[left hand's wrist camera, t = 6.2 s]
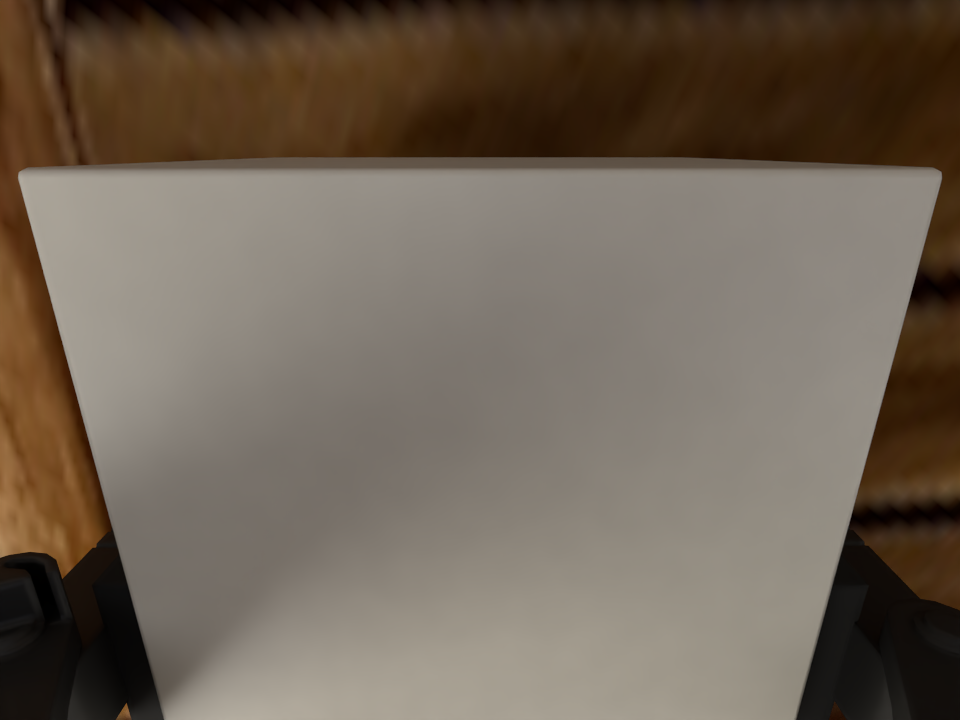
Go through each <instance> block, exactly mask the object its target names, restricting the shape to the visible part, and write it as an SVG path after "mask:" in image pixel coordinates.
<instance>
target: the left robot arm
mask: <svg viewBox="0 0 960 720" xmlns="http://www.w3.org/2000/svg"><path fill="white" fill-rule="evenodd" d="M834 701H835V702H836V704H837V705H838V707H839V708H840V710H841V711H842V713H843V715H844V716H845V718H846V719H847V720H960V611H959V610H957V609H955V608H952V607H949V606H946V605H944V604H941V603H938V602H935V601H929V600H923V599H920V598H919V597H918V596H917V595H916V594H915V593H914V592H913V591H912V590H911V589H910V588H909V587H908V586H907V585H906V584H905V583H904V582H903V581H902V580H901V579H900V578H899V577H898V576H897V575H896V574H895V573H894V572H893V571H892V570H891V569H890V568H889V567H888V566H887V565H886V564H885V563H884V562H883V561H882V559H881V558H880V557H879V556H878V555H877V554H876V553H875V552H874V551H873V550H872V549H871V548H870V547H869V546H865V545H864V541H863V540H862V539H861V538H860V537H859V536H858V535H857V534H856V533H855V532H854V531H853V530H850V529H849V526H848V529H847V533H846V537H845V540H844V544H843V548H842V552H841V555H840V559H839V563H838V566H837V570H836V574H835V578H834V581H833V585H832V589H831V592H830V596H829V600H828V604H827V607H826V611H825V615H824V618H823V622H822V626H821V630H820V633H819V637H818V641H817V644H816V648H815V652H814V656H813V659H812V663H811V667H810V670H809V674H808V678H807V682H806V685H805V689H804V693H803V696H802V700H801V704H800V708H799V711H798V715H797V719H796V720H829V717H830V714H831V710H832V707H833V704H834ZM126 703H127V705H128V709H129V712H130V715H131V719H132V720H164V717H163V713H162V710H161V706H160V702H159V699H158V695H157V691H156V687H155V684H154V680H153V676H152V673H151V669H150V665H149V661H148V658H147V654H146V650H145V647H144V643H143V639H142V635H141V632H140V628H139V624H138V621H137V617H136V613H135V609H134V606H133V602H132V598H131V595H130V591H129V587H128V583H127V580H126V576H125V572H124V569H123V565H122V561H121V557H120V554H119V550H118V546H117V543H116V539H115V535H114V531H113V528H112V531H111V532H108V533H107V534H106V535H105V536H104V537H103V538H102V539H101V540H100V541H99V542H98V543H97V547H96V548H92V549H91V550H90V551H89V552H88V553H87V554H86V555H85V556H84V557H83V558H82V560H81V561H80V562H79V563H78V564H77V565H76V566H75V567H74V568H73V569H72V570H71V571H70V572H69V573H68V574H67V575H66V576H65V577H64V578H63V579H62V577H61V574H60V571H59V567H58V564H57V561H56V559H54V558H52V557H51V556H49V555H48V554H45V553H35V552H27V553H20V554H13V555H8V556H5V557H2V558H0V720H116V718H117V717H118V715H119V714H120V712H121V710H122V709H123V707H124V706H125V704H126Z"/></svg>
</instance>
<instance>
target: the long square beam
mask: <svg viewBox="0 0 960 720" xmlns="http://www.w3.org/2000/svg"><path fill="white" fill-rule="evenodd" d="M18 179H19V183H20V186H21V190H22V194H23V197H24V201H25V205H26V209H27V212H28V216H29V220H30V223H31V227H32V231H33V235H34V238H35V242H36V246H37V249H38V253H39V257H40V261H41V264H42V268H43V272H44V275H45V279H46V283H47V287H48V290H49V294H50V298H51V301H52V305H53V309H54V313H55V316H56V320H57V324H58V327H59V331H60V335H61V339H62V342H63V346H64V350H65V353H66V357H67V361H68V364H69V368H70V372H71V376H72V379H73V383H74V387H75V390H76V394H77V398H78V402H79V405H80V409H81V413H82V416H83V420H84V424H85V428H86V431H87V435H88V439H89V442H90V446H91V450H92V454H93V457H94V461H95V465H96V468H97V472H98V476H99V480H100V483H101V487H102V491H103V494H104V498H105V502H106V506H107V509H108V513H109V517H110V520H111V524H112V528H113V531H114V535H115V539H116V543H117V546H118V550H119V554H120V557H121V561H122V565H123V569H124V572H125V576H126V580H127V583H128V587H129V591H130V595H131V598H132V602H133V606H134V609H135V613H136V617H137V621H138V624H139V628H140V632H141V635H142V639H143V643H144V647H145V650H146V654H147V658H148V661H149V665H150V669H151V673H152V676H153V680H154V684H155V687H156V691H157V695H158V699H159V702H160V706H161V710H162V713H163V717H164V720H796V719H797V715H798V711H799V708H800V704H801V700H802V696H803V693H804V689H805V685H806V682H807V678H808V674H809V670H810V667H811V663H812V659H813V656H814V652H815V648H816V644H817V641H818V637H819V633H820V630H821V626H822V622H823V618H824V615H825V611H826V607H827V604H828V600H829V596H830V592H831V589H832V585H833V581H834V578H835V574H836V570H837V566H838V563H839V559H840V555H841V552H842V548H843V544H844V540H845V537H846V533H847V529H848V526H849V522H850V518H851V514H852V511H853V507H854V503H855V500H856V496H857V492H858V488H859V485H860V481H861V477H862V474H863V470H864V466H865V462H866V459H867V455H868V451H869V448H870V444H871V440H872V436H873V433H874V429H875V425H876V422H877V418H878V414H879V410H880V407H881V403H882V399H883V396H884V392H885V388H886V384H887V381H888V377H889V373H890V370H891V366H892V362H893V358H894V355H895V351H896V347H897V344H898V340H899V336H900V332H901V329H902V325H903V321H904V318H905V314H906V310H907V306H908V303H909V299H910V295H911V292H912V288H913V284H914V280H915V277H916V273H917V269H918V266H919V262H920V258H921V254H922V251H923V247H924V243H925V240H926V236H927V232H928V228H929V225H930V221H931V217H932V214H933V210H934V206H935V202H936V199H937V195H938V191H939V188H940V184H941V180H942V173H941V171H939V170H937V169H935V168H933V167H908V166H883V165H858V164H833V163H808V162H783V161H758V160H733V159H708V158H683V157H425V158H255V159H230V160H205V161H181V162H156V163H132V164H107V165H83V166H58V167H33V168H26V169H24V170H22V171H20V172H19V176H18Z"/></svg>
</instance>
